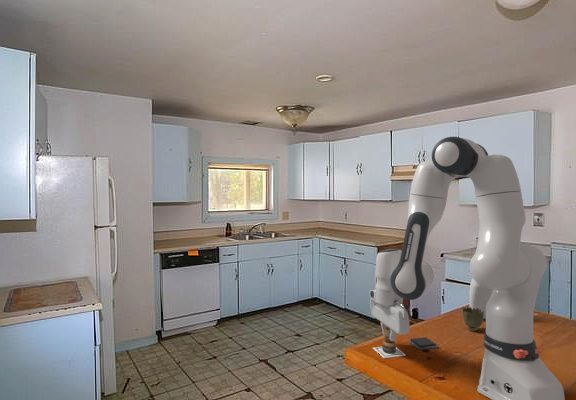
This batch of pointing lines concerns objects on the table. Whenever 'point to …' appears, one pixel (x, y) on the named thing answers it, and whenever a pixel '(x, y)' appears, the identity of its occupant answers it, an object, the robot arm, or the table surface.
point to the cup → (473, 318)
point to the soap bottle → (479, 296)
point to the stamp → (388, 342)
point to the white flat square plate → (388, 355)
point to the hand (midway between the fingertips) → (388, 337)
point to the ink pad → (423, 343)
